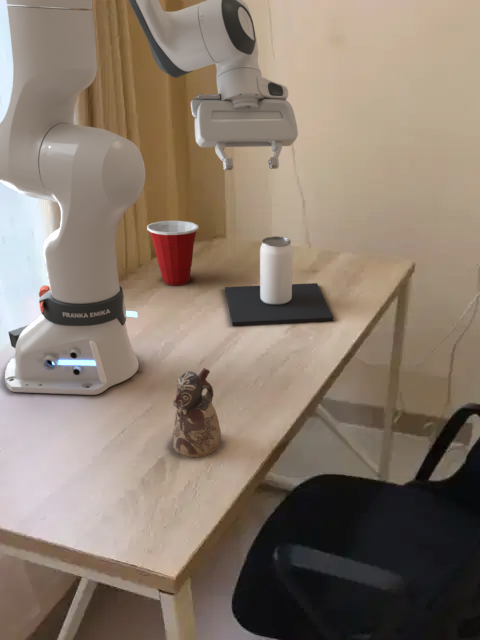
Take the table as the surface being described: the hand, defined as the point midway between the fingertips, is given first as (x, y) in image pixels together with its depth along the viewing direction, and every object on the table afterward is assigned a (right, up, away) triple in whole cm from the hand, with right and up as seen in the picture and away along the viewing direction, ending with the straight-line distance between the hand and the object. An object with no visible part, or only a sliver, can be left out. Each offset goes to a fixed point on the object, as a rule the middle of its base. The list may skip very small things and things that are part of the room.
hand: (251, 168), depth 145 cm
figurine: (-7, -56, -33) cm, 66 cm away
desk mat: (+5, -25, +8) cm, 26 cm away
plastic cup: (-17, -17, +18) cm, 30 cm away
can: (+5, -24, +8) cm, 25 cm away
